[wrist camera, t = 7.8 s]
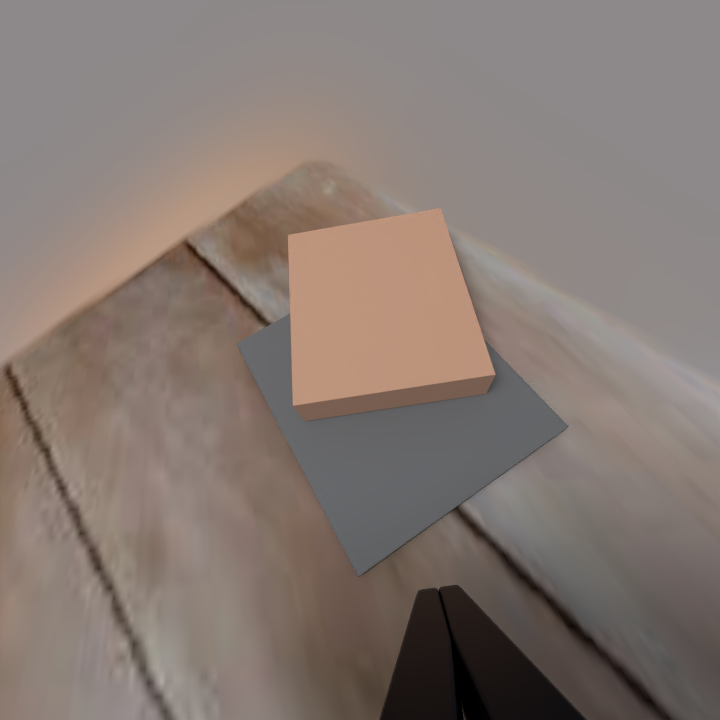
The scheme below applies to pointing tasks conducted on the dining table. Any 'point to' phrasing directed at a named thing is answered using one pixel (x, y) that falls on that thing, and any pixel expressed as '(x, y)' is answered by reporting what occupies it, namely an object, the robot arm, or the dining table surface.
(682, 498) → the dining table surface
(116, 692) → the dining table surface
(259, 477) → the dining table surface
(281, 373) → the mat
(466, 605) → the robot arm
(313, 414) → the block
